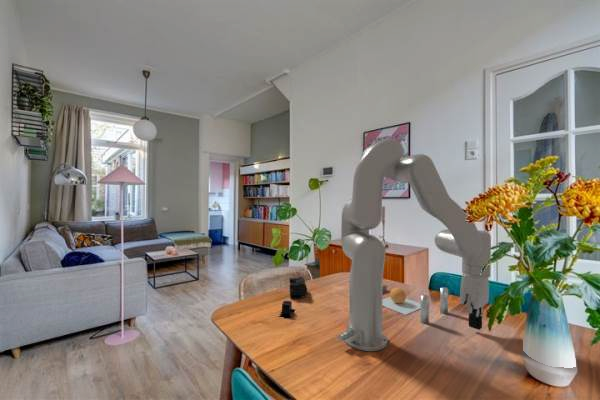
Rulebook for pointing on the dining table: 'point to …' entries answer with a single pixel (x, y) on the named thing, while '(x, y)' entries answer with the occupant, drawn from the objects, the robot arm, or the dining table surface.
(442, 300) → the right post
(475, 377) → the dining table surface
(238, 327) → the dining table surface
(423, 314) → the left post
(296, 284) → the end cap
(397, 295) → the ball
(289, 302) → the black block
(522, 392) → the dining table surface
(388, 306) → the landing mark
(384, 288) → the stopper wall
